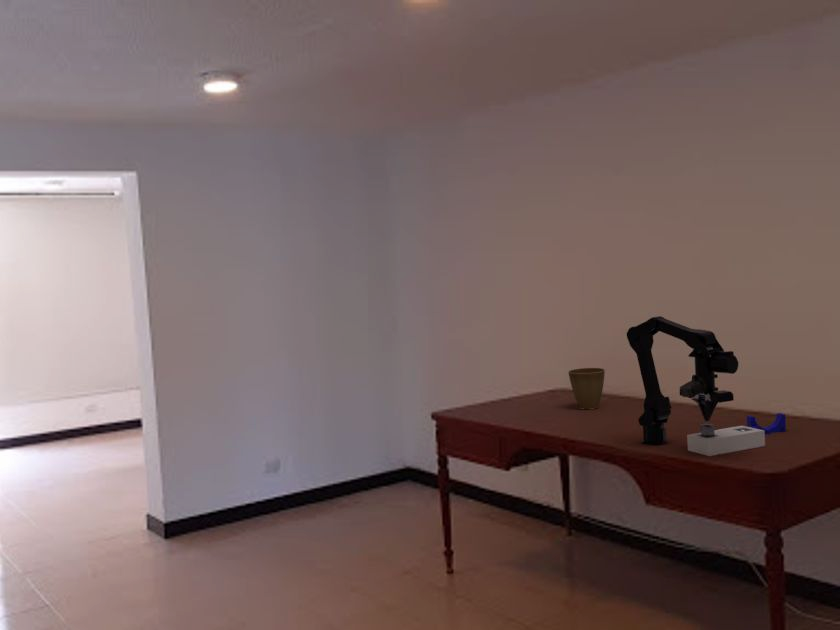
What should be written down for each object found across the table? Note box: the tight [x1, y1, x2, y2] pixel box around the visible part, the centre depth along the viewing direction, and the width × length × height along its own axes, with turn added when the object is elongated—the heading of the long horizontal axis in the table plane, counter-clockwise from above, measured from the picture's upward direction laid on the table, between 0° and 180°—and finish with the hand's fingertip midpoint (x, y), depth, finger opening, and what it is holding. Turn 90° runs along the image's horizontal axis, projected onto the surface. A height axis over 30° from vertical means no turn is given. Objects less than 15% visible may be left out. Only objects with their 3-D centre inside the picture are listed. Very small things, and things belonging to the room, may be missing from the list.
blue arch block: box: [746, 412, 787, 435], centre depth 291 cm, size 12×4×6 cm, turn 94°
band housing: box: [686, 425, 766, 457], centre depth 273 cm, size 10×22×5 cm, turn 112°
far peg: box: [736, 428, 750, 432], centre depth 275 cm, size 4×4×5 cm
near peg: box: [700, 423, 715, 438], centre depth 270 cm, size 4×4×5 cm
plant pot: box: [567, 367, 606, 409], centre depth 357 cm, size 15×15×16 cm
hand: (707, 420), depth 270 cm, fingers closed
